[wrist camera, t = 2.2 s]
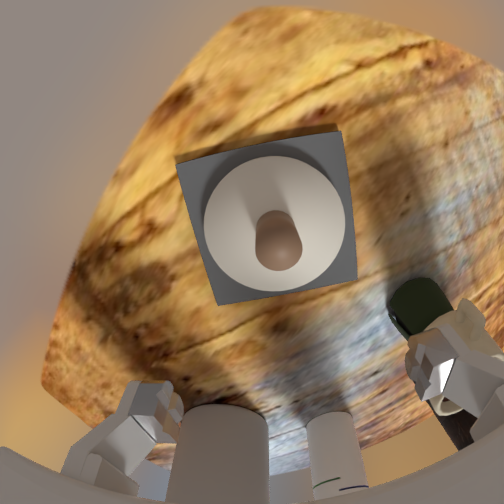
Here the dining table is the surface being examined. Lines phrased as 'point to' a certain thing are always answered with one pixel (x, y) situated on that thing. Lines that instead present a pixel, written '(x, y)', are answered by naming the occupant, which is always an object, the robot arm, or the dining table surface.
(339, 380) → the dining table surface
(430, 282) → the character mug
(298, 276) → the lid
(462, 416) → the butter churn
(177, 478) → the cylinder vase
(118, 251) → the dining table surface
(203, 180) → the mat
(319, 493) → the cylindrical container
